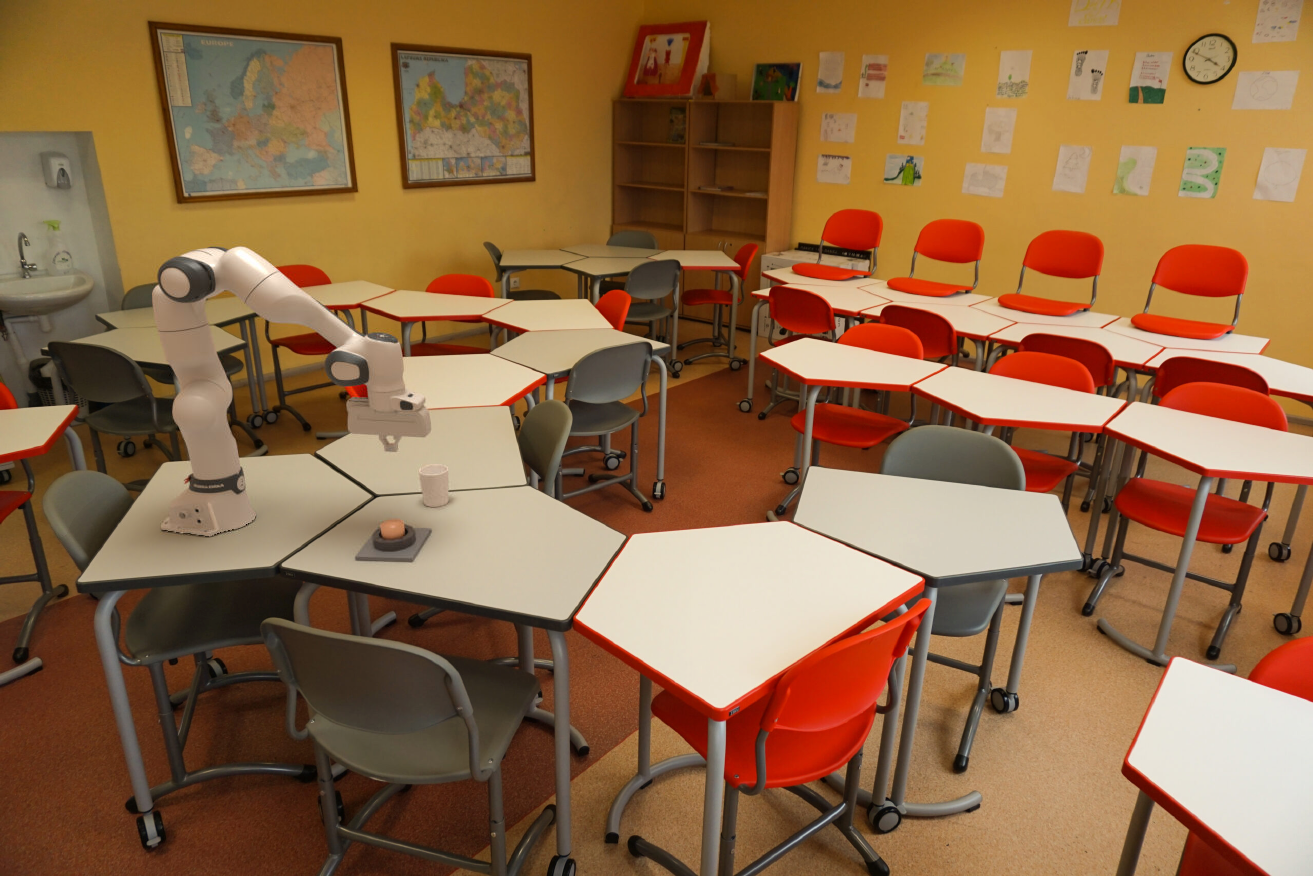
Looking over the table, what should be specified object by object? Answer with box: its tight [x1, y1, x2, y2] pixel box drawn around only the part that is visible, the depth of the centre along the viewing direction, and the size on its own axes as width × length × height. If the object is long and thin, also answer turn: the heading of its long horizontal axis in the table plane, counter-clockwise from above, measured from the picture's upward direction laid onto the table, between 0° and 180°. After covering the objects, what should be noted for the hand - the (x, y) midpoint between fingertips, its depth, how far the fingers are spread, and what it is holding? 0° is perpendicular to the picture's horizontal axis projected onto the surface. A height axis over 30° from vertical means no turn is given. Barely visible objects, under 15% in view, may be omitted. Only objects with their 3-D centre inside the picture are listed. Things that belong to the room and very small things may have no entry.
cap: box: [379, 518, 405, 540], centre depth 203 cm, size 6×6×5 cm
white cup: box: [418, 463, 450, 508], centre depth 227 cm, size 8×8×10 cm
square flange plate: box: [354, 523, 433, 563], centre depth 204 cm, size 14×16×4 cm
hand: (391, 451), depth 204 cm, fingers closed
